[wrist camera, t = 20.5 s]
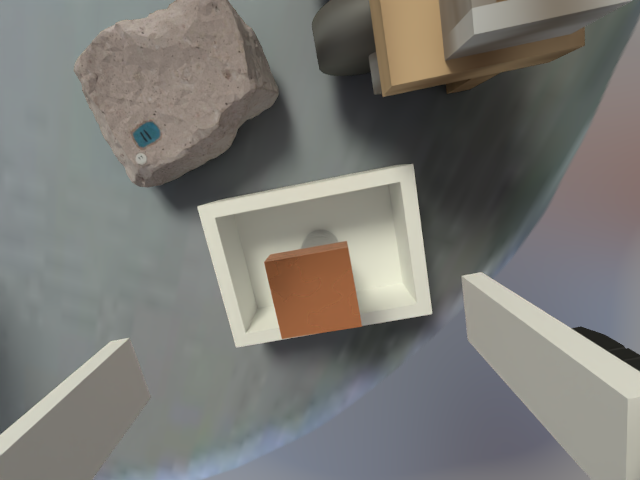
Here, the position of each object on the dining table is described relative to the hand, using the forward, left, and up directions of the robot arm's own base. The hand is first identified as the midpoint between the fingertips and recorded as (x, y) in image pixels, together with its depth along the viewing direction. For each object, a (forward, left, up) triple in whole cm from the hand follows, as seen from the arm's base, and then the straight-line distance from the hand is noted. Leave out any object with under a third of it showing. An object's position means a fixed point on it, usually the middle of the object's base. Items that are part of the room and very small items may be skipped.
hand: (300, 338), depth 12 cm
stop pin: (+1, 0, -15) cm, 15 cm away
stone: (-8, +13, -16) cm, 22 cm away
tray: (0, 0, -16) cm, 16 cm away
